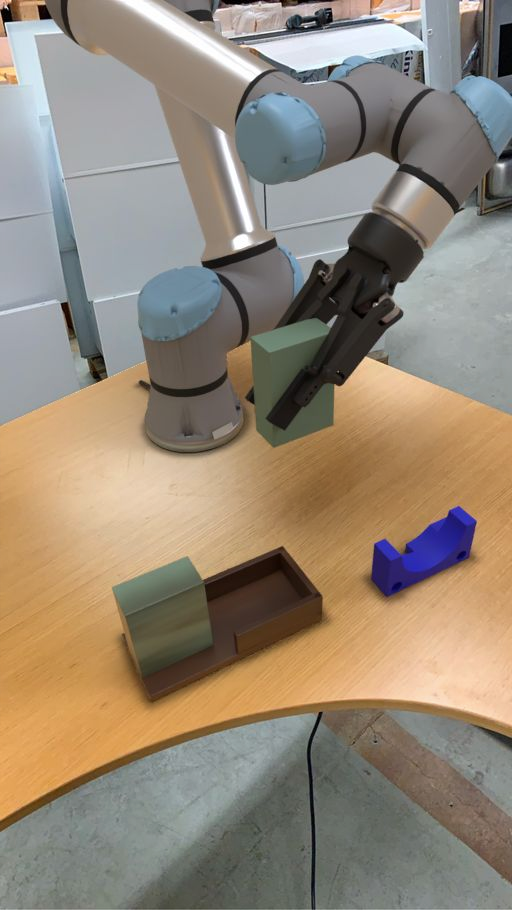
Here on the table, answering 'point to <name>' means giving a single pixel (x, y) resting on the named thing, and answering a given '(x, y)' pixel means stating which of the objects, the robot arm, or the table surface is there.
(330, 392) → the green rectangular block
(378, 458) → the table surface
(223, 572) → the brown desk organizer
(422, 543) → the blue cradle bracket
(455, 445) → the table surface
